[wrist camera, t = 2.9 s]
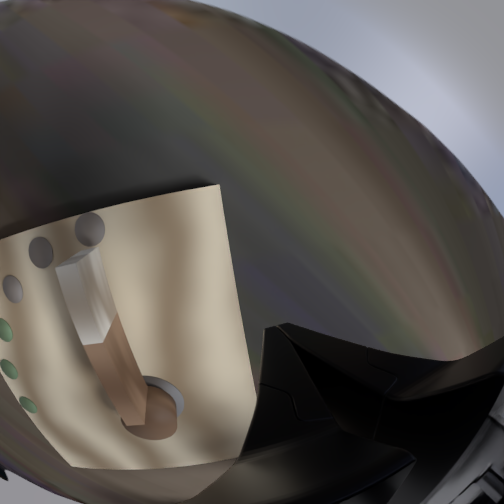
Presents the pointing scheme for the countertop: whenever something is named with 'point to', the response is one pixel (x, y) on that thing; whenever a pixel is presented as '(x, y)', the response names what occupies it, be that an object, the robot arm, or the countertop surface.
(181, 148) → the countertop surface
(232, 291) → the board
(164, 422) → the peg
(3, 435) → the countertop surface
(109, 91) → the countertop surface
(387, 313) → the countertop surface
